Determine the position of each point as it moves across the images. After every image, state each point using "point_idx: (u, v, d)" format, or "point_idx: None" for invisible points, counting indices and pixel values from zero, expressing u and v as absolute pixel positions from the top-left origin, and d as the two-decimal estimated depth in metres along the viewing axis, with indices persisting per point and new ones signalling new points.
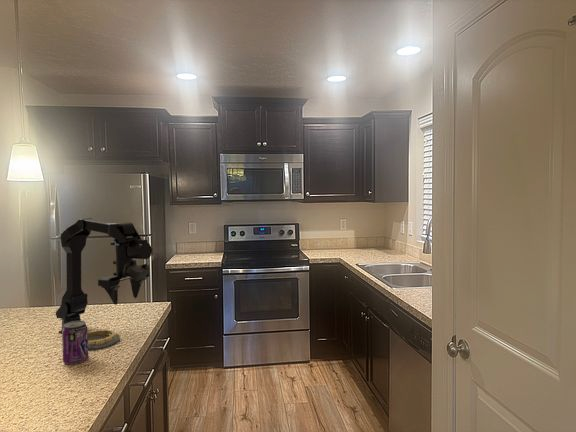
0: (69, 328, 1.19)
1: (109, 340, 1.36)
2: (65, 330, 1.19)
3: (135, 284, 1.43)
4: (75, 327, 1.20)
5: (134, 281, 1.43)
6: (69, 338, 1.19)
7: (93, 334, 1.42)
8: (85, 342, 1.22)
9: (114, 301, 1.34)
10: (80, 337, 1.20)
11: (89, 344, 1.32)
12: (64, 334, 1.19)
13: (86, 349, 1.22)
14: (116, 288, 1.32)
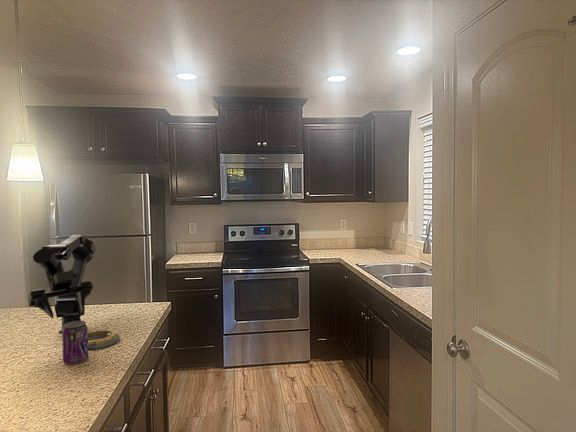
0: (69, 328, 1.19)
1: (109, 340, 1.36)
2: (65, 330, 1.19)
3: (79, 298, 1.34)
4: (75, 327, 1.20)
5: (79, 296, 1.35)
6: (69, 338, 1.19)
7: (93, 334, 1.42)
8: (85, 342, 1.22)
9: (50, 314, 1.25)
10: (80, 337, 1.20)
11: (89, 344, 1.32)
12: (64, 334, 1.19)
13: (86, 349, 1.22)
14: (43, 298, 1.25)
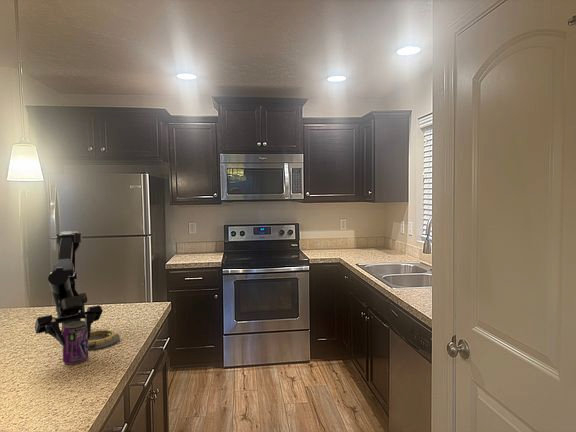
0: (69, 328, 1.19)
1: (109, 340, 1.36)
2: (65, 330, 1.19)
3: None
4: (75, 327, 1.20)
5: None
6: (69, 338, 1.19)
7: (93, 334, 1.42)
8: (85, 342, 1.22)
9: (61, 341, 1.19)
10: (80, 337, 1.20)
11: (89, 344, 1.32)
12: (64, 334, 1.19)
13: (86, 349, 1.22)
14: (54, 324, 1.19)
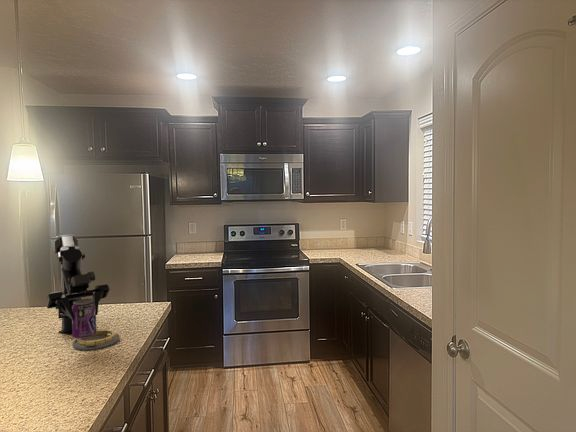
0: (78, 305, 1.26)
1: (109, 340, 1.36)
2: (74, 307, 1.26)
3: (93, 301, 1.33)
4: (84, 304, 1.26)
5: None
6: (78, 314, 1.26)
7: None
8: (93, 319, 1.29)
9: (70, 316, 1.26)
10: (88, 313, 1.27)
11: (89, 344, 1.32)
12: (73, 310, 1.26)
13: (94, 325, 1.29)
14: (64, 300, 1.26)
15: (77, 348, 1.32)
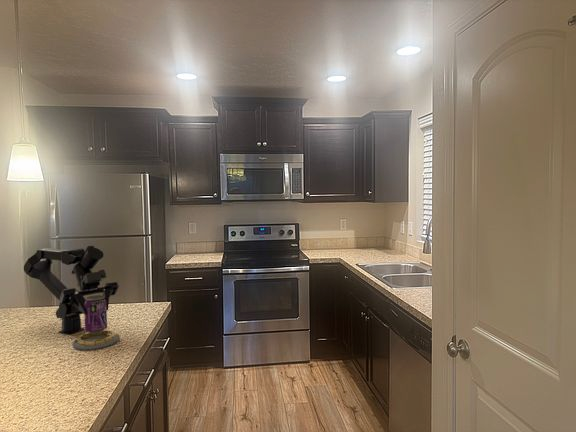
0: (90, 300, 1.35)
1: (109, 340, 1.36)
2: (87, 302, 1.35)
3: None
4: (96, 300, 1.35)
5: None
6: (91, 310, 1.34)
7: (93, 334, 1.42)
8: (104, 314, 1.37)
9: (83, 311, 1.34)
10: (100, 309, 1.36)
11: (89, 344, 1.32)
12: (86, 306, 1.35)
13: (105, 320, 1.38)
14: (77, 296, 1.35)
15: (77, 348, 1.32)
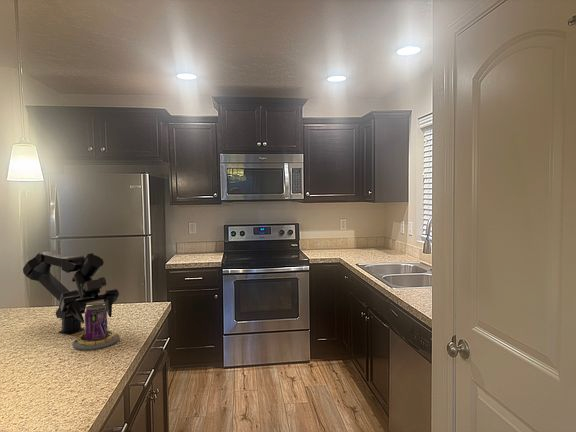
0: (91, 310, 1.35)
1: (109, 340, 1.36)
2: (87, 312, 1.35)
3: (107, 305, 1.43)
4: (96, 309, 1.35)
5: (106, 303, 1.44)
6: (91, 319, 1.34)
7: None
8: (105, 323, 1.37)
9: (80, 320, 1.34)
10: (101, 318, 1.36)
11: (89, 344, 1.32)
12: (87, 315, 1.35)
13: (106, 329, 1.38)
14: (75, 305, 1.34)
15: (77, 348, 1.32)
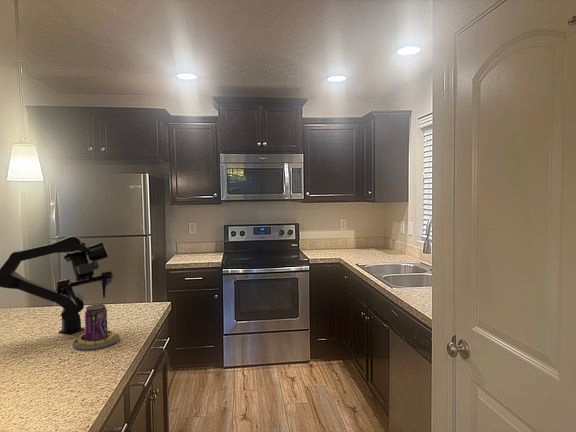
0: (91, 310, 1.35)
1: (109, 340, 1.36)
2: (88, 312, 1.35)
3: (101, 286, 1.48)
4: (96, 309, 1.35)
5: (101, 285, 1.49)
6: (91, 319, 1.34)
7: None
8: (105, 323, 1.37)
9: (74, 302, 1.40)
10: (101, 318, 1.36)
11: (89, 344, 1.32)
12: (87, 315, 1.35)
13: (106, 329, 1.38)
14: (68, 288, 1.40)
15: (77, 348, 1.32)
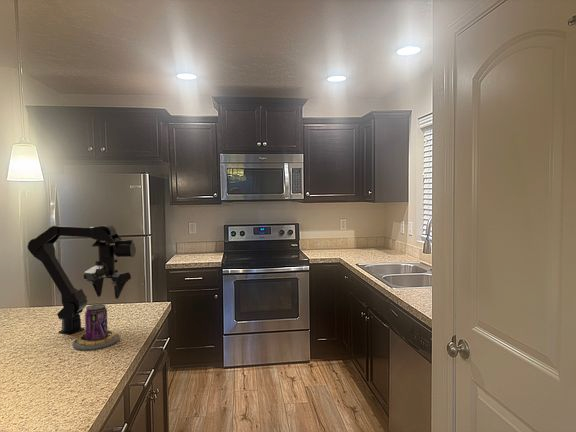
0: (91, 310, 1.35)
1: (109, 340, 1.36)
2: (88, 312, 1.35)
3: None
4: (96, 309, 1.35)
5: None
6: (91, 319, 1.34)
7: None
8: (105, 323, 1.37)
9: None
10: (101, 318, 1.36)
11: (89, 344, 1.32)
12: (87, 315, 1.35)
13: (106, 329, 1.38)
14: (90, 281, 1.50)
15: (77, 348, 1.32)
